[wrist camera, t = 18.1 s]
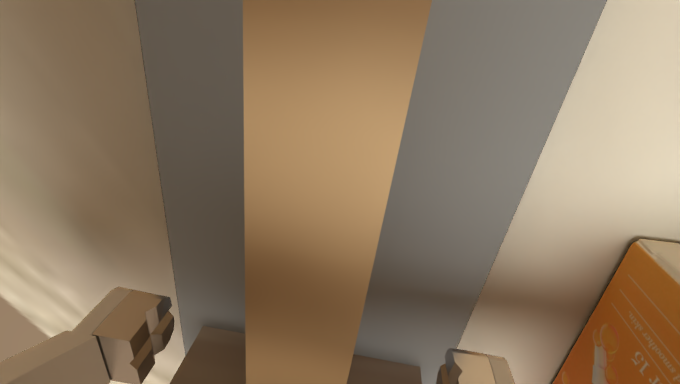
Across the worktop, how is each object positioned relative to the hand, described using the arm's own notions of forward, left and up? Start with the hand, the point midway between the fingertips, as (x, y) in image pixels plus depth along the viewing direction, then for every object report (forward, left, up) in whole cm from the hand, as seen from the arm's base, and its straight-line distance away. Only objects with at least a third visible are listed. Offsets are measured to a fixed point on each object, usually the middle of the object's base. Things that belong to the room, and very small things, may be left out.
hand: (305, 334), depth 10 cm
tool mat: (-1, 0, -3) cm, 3 cm away
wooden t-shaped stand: (-1, 0, -2) cm, 3 cm away
